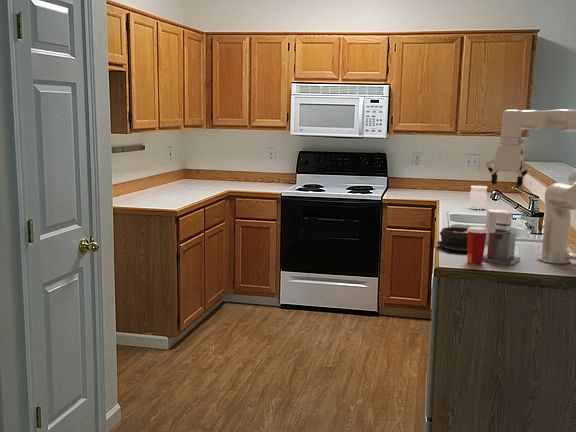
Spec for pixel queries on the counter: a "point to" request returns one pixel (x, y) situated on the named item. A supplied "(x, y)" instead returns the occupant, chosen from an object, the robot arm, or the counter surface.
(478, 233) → the paper cup
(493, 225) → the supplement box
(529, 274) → the counter surface
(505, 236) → the stand
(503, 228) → the column
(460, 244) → the casserole
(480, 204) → the jar
